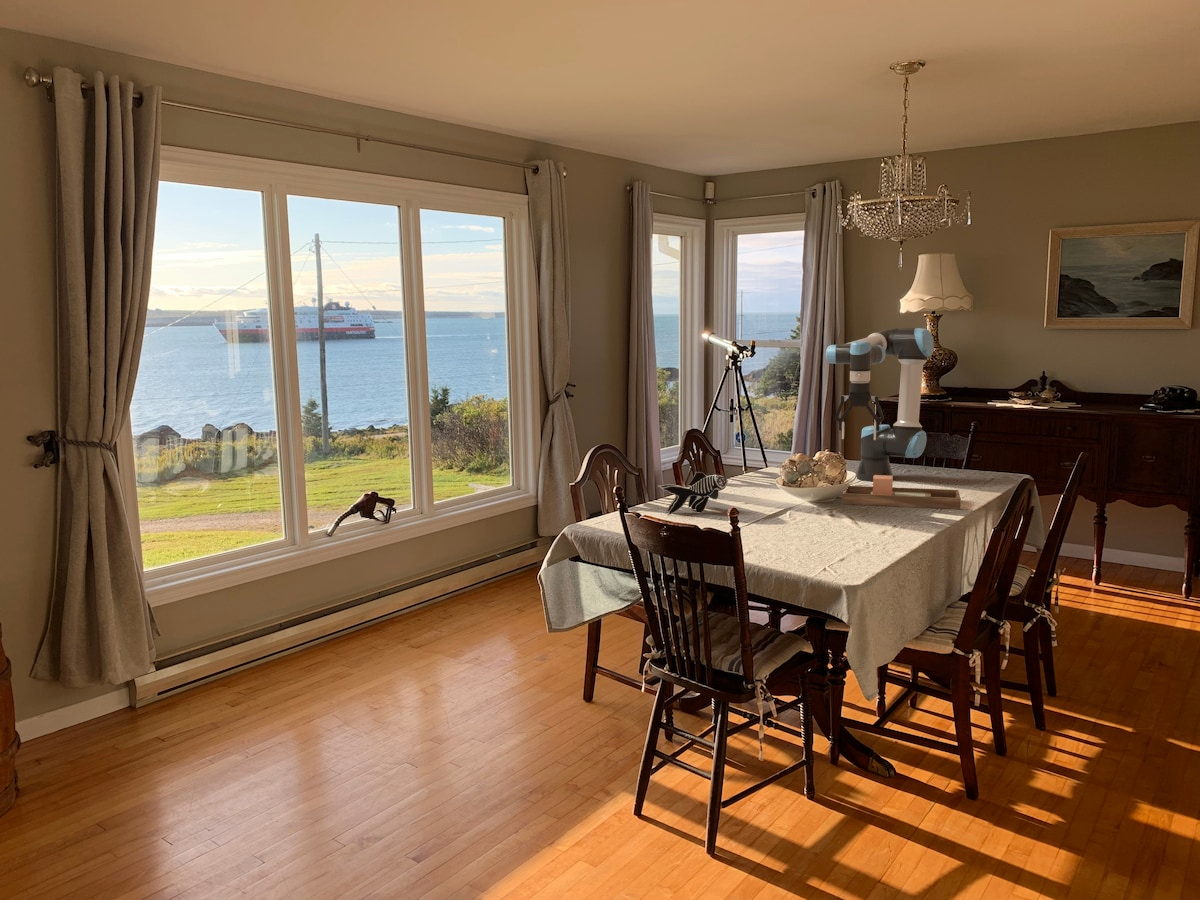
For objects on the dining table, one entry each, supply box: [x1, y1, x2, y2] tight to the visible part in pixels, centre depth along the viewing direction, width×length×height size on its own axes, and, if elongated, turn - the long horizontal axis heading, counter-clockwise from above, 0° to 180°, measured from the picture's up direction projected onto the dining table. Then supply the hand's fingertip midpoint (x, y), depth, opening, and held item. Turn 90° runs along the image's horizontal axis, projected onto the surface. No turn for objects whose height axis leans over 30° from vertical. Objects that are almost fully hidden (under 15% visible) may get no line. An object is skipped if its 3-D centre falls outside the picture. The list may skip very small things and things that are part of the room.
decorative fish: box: [657, 471, 729, 516], centre depth 336 cm, size 16×26×15 cm, turn 102°
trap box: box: [841, 485, 962, 510], centre depth 344 cm, size 16×42×4 cm, turn 71°
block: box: [872, 475, 894, 495], centre depth 345 cm, size 7×7×7 cm
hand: (858, 439), depth 345 cm, fingers open, 11 cm apart
